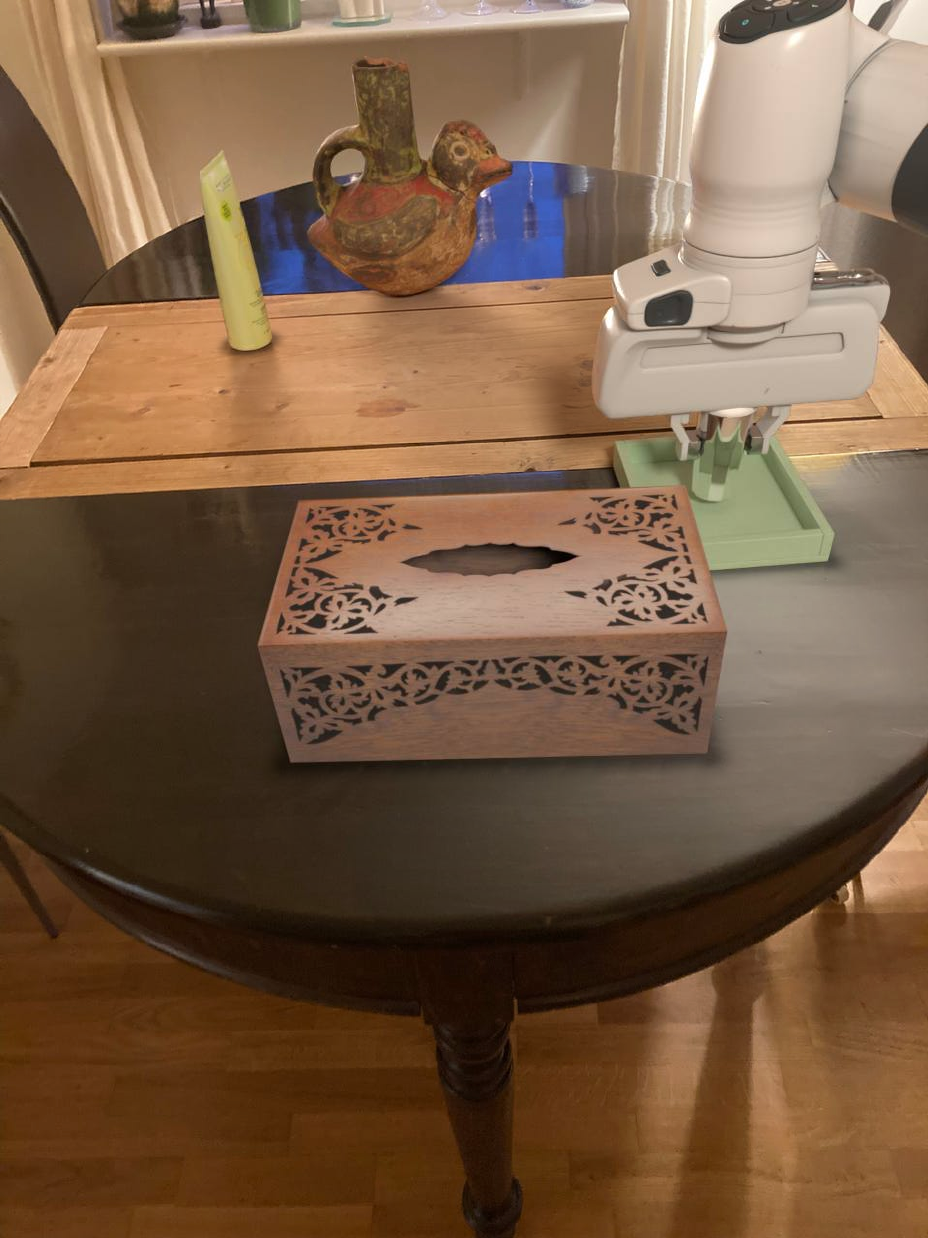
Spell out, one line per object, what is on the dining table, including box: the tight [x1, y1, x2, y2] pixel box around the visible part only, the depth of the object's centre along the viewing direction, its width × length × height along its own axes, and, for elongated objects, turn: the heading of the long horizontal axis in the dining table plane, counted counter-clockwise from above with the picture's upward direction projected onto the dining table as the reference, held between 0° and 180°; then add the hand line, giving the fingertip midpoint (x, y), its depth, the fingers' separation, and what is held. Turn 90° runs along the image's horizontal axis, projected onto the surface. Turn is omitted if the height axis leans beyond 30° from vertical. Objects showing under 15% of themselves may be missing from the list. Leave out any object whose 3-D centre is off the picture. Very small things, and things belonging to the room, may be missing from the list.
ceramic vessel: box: [306, 55, 514, 296], centre depth 107 cm, size 17×26×25 cm, turn 80°
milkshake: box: [692, 388, 770, 501], centre depth 71 cm, size 4×5×10 cm
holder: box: [612, 433, 836, 571], centre depth 75 cm, size 14×16×3 cm
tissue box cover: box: [257, 485, 728, 763], centre depth 59 cm, size 26×14×10 cm, turn 89°
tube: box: [199, 149, 273, 352], centre depth 99 cm, size 6×5×20 cm
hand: (720, 453), depth 72 cm, fingers closed on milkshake, 4 cm apart
